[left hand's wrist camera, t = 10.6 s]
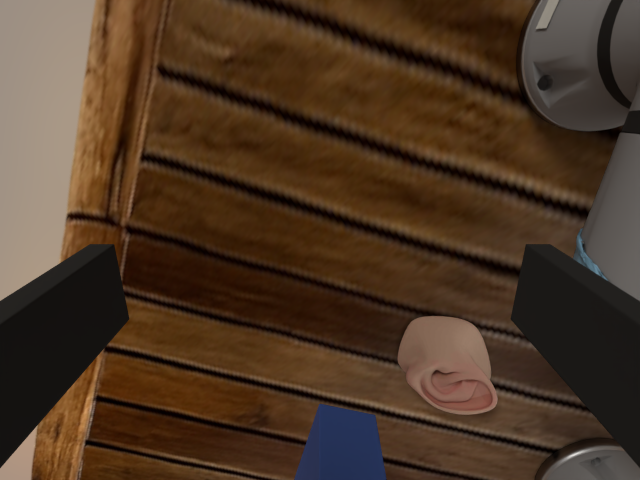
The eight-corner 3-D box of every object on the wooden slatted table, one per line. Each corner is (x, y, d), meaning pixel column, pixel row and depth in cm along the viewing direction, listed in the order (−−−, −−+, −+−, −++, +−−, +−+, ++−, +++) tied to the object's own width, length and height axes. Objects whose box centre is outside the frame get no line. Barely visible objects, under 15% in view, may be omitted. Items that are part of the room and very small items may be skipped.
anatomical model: (397, 341, 42) (500, 323, 42) (391, 321, 46) (486, 304, 45) (412, 429, 47) (505, 414, 46) (405, 405, 51) (491, 390, 50)
